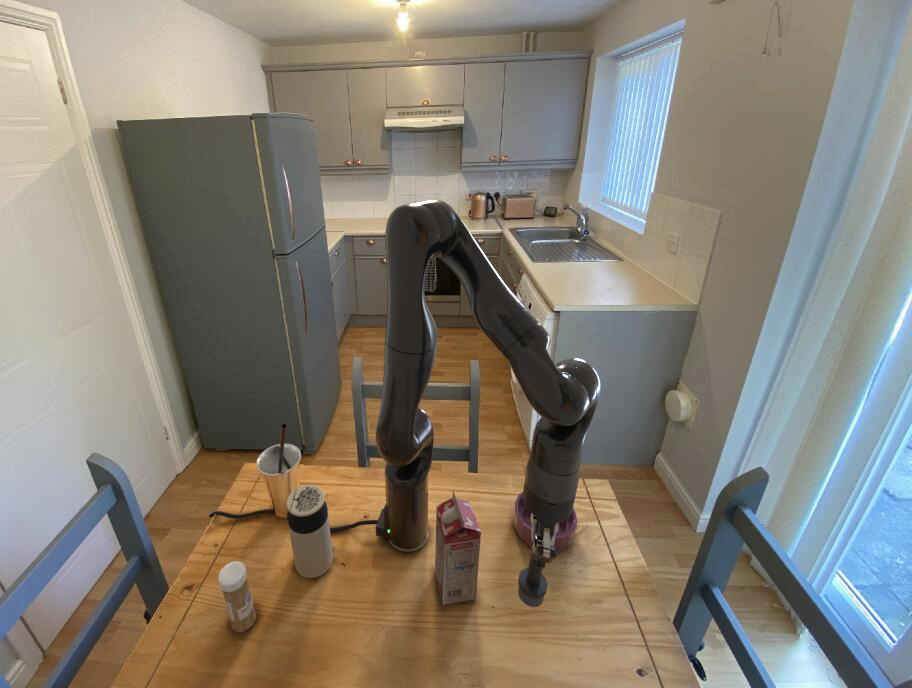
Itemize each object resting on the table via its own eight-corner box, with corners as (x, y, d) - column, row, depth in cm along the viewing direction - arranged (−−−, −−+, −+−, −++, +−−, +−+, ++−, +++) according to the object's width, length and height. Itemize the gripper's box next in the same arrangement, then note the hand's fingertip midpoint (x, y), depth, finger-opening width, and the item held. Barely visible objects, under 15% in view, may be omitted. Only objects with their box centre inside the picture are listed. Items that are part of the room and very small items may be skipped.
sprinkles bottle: (255, 629, 78) (243, 581, 73) (229, 636, 77) (215, 588, 72) (257, 604, 82) (246, 557, 77) (232, 610, 81) (220, 563, 76)
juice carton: (442, 604, 81) (445, 523, 73) (435, 571, 87) (436, 493, 79) (475, 599, 82) (482, 518, 74) (465, 566, 88) (470, 488, 80)
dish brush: (516, 604, 73) (526, 546, 67) (516, 578, 77) (525, 521, 72) (545, 611, 72) (557, 553, 66) (543, 584, 76) (555, 527, 71)
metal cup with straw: (301, 531, 97) (284, 426, 85) (256, 523, 99) (234, 420, 87) (318, 494, 107) (306, 395, 95) (277, 487, 109) (260, 390, 97)
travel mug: (337, 546, 93) (330, 485, 86) (326, 581, 86) (318, 518, 79) (303, 541, 94) (294, 481, 87) (289, 576, 87) (278, 513, 80)
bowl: (512, 547, 92) (514, 531, 90) (513, 498, 104) (514, 483, 102) (577, 560, 89) (581, 544, 87) (570, 509, 101) (573, 493, 99)
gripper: (524, 445, 71) (514, 518, 78) (526, 513, 59) (514, 592, 66) (571, 453, 69) (557, 527, 76) (583, 524, 57) (564, 605, 64)
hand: (537, 557), depth 71 cm, fingers closed on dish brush
